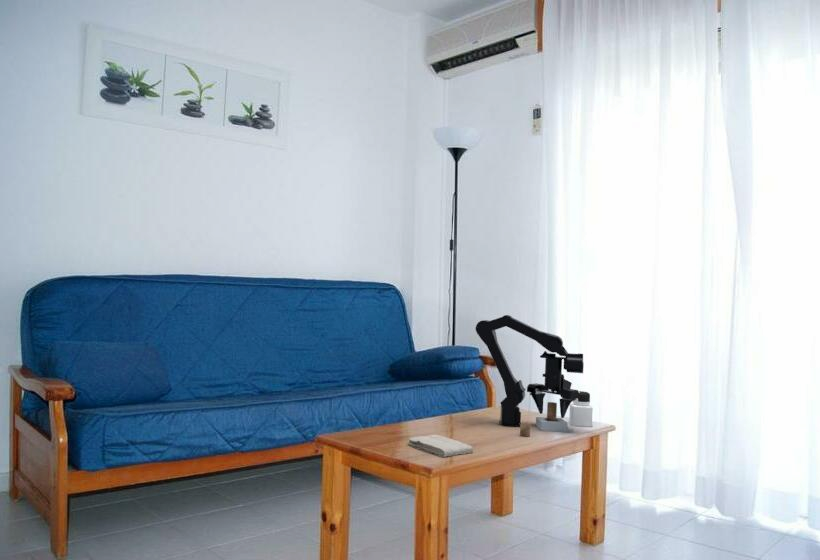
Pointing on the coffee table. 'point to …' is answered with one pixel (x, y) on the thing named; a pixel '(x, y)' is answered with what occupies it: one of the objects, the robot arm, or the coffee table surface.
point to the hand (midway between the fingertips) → (551, 415)
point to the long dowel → (551, 411)
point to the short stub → (525, 429)
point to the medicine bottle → (581, 411)
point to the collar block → (551, 424)
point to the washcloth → (440, 445)
